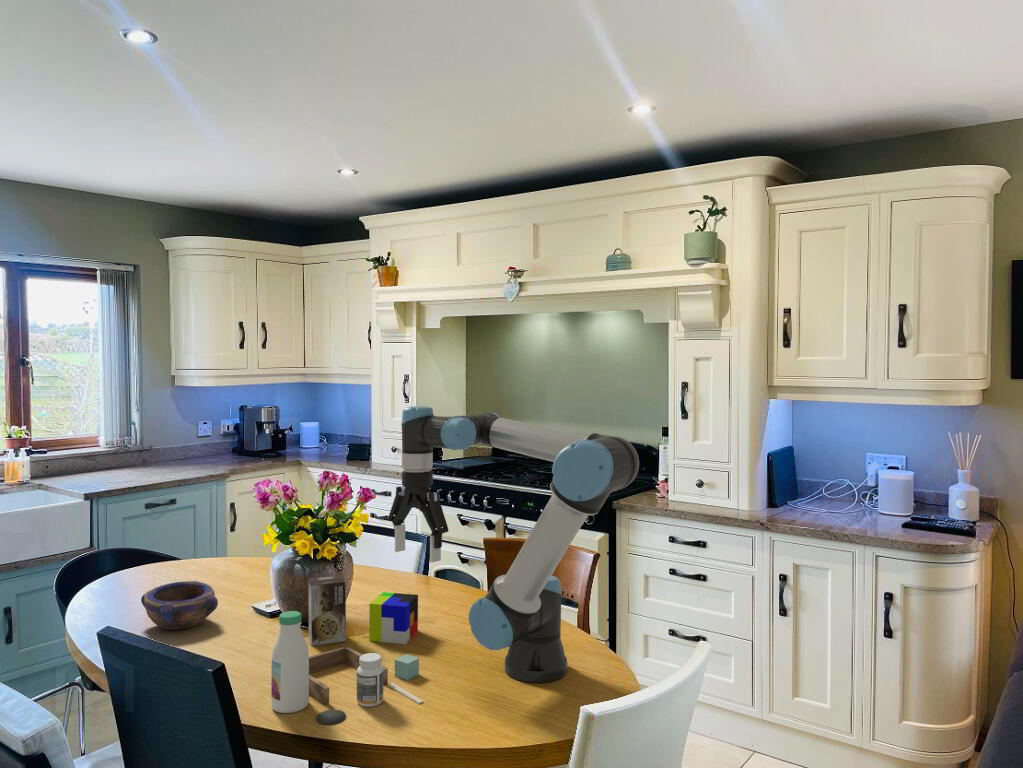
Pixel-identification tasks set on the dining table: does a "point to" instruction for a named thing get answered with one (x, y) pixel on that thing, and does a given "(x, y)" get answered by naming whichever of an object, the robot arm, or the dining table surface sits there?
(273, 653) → the milk bottle
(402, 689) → the strip
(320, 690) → the cubby
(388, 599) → the puzzle toy
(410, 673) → the teal block
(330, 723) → the drain disc
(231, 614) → the dining table surface
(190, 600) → the bowl
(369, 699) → the pill bottle
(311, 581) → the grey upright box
